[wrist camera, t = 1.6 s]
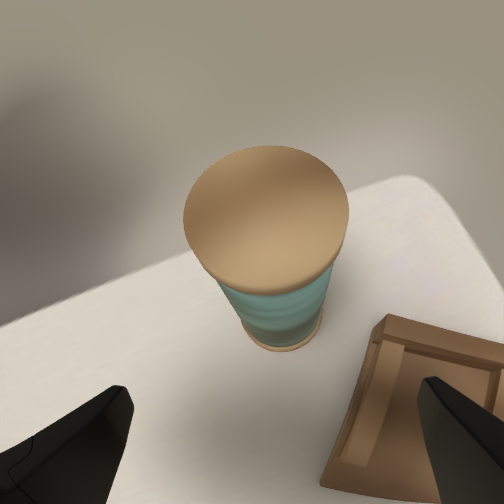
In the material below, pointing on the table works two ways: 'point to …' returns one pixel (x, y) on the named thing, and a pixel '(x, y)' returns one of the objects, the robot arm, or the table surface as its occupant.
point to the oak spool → (269, 238)
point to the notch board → (407, 407)
